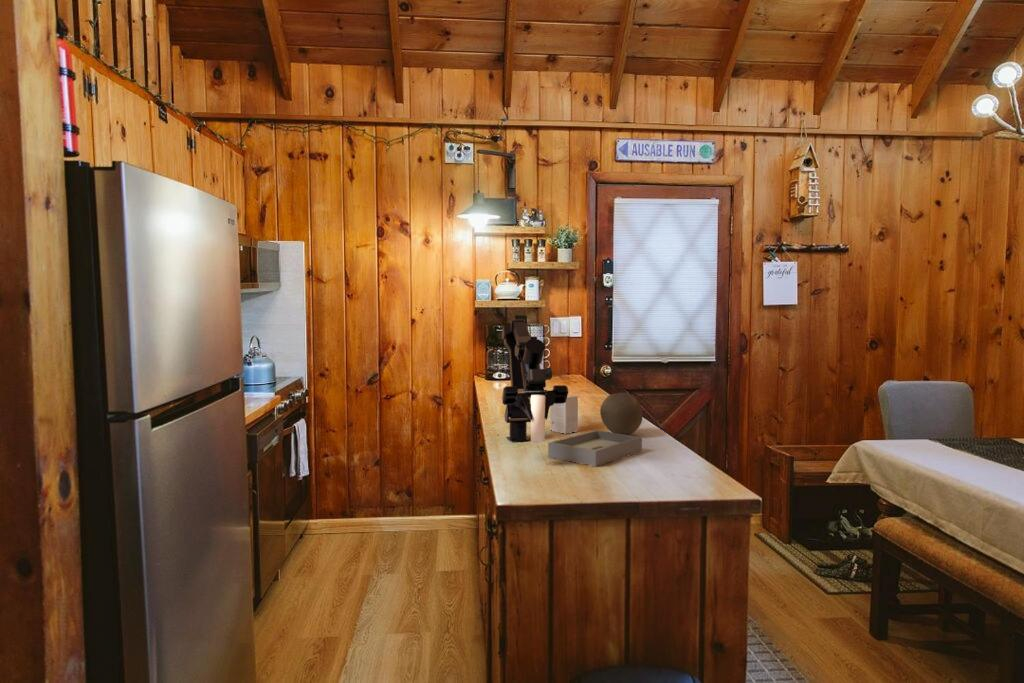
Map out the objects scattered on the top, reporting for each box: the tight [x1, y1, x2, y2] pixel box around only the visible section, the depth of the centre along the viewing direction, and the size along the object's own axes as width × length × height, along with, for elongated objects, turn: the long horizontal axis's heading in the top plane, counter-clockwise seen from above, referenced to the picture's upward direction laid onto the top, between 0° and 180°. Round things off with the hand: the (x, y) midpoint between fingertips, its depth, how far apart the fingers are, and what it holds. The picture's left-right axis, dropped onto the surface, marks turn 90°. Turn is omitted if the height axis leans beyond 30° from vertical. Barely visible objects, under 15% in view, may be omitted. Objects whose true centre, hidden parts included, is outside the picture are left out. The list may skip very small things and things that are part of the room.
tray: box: [547, 429, 643, 467], centre depth 199 cm, size 17×25×4 cm
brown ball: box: [599, 392, 644, 436], centre depth 226 cm, size 14×14×15 cm
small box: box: [549, 394, 579, 435], centre depth 233 cm, size 8×6×13 cm
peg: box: [530, 395, 546, 443], centre depth 186 cm, size 4×4×13 cm
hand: (538, 418), depth 184 cm, fingers closed on peg, 4 cm apart
